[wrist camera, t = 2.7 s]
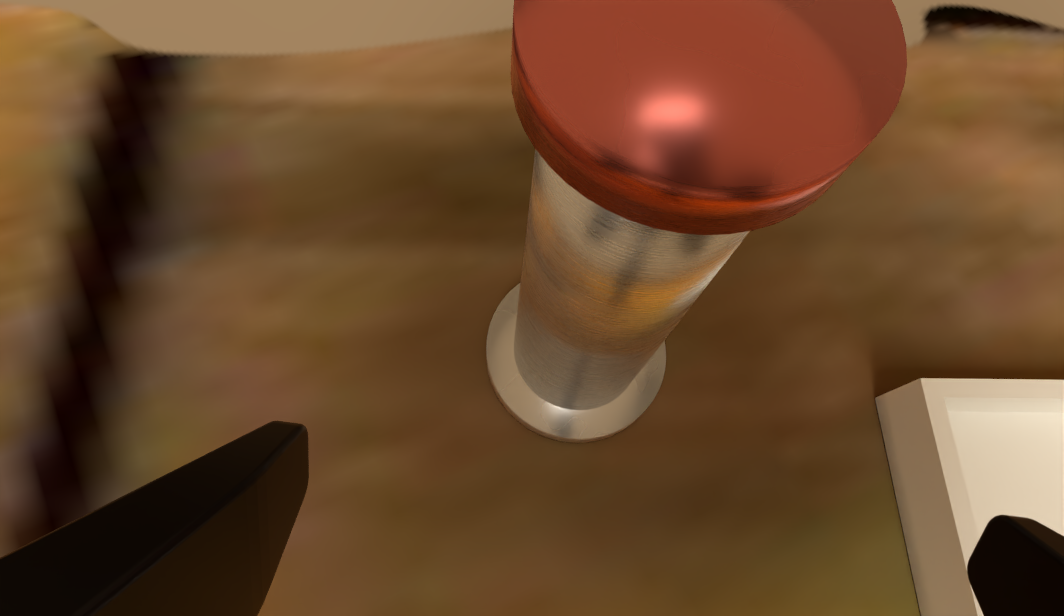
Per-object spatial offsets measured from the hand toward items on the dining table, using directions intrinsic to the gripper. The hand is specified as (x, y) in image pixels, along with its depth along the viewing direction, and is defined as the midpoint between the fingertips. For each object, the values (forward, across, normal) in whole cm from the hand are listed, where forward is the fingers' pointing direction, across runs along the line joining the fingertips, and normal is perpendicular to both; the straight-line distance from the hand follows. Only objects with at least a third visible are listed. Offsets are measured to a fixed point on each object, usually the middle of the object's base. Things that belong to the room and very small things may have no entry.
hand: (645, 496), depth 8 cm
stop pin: (+13, 0, +5) cm, 14 cm away
